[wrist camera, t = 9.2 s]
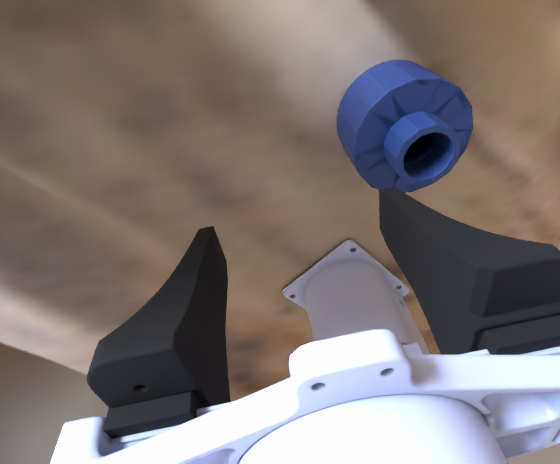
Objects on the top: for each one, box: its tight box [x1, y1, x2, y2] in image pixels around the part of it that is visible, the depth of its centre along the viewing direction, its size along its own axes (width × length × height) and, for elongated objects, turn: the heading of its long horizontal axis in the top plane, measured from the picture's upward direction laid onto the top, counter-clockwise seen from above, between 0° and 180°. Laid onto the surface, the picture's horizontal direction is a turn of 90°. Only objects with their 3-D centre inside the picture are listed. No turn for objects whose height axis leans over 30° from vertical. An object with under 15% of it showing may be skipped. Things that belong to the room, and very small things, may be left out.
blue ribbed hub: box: [337, 60, 473, 193], centre depth 22 cm, size 7×7×6 cm
